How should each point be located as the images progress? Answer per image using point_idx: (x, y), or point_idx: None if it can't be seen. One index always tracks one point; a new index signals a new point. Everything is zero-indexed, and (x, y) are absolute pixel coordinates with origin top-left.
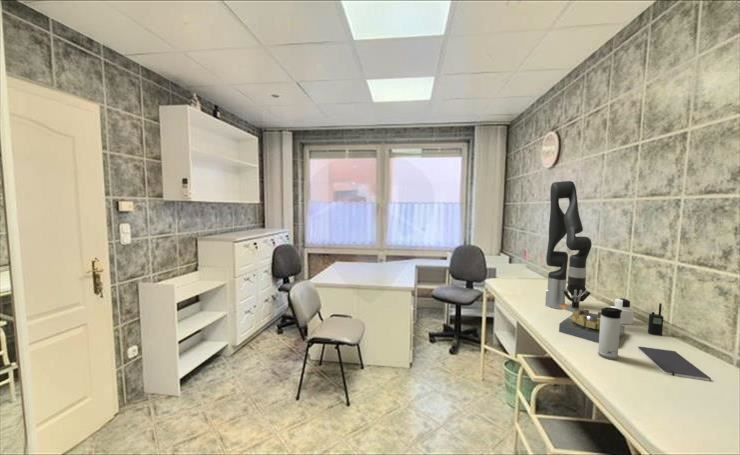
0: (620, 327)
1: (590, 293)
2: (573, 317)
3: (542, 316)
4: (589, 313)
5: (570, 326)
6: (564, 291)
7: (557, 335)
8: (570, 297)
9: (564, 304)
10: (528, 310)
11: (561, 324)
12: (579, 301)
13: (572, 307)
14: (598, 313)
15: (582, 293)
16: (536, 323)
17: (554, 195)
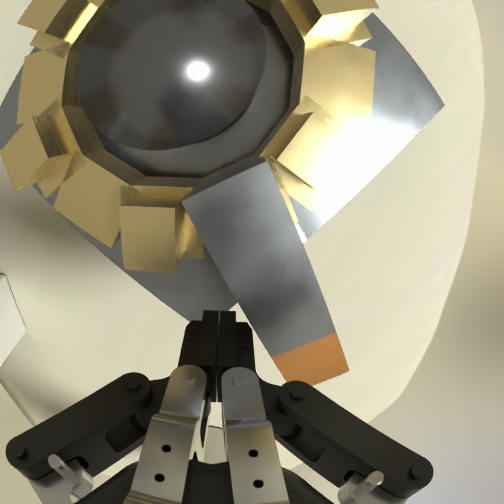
0: (18, 88)
1: (7, 444)
2: (367, 97)
3: (356, 341)
4: (154, 131)
5: (398, 44)
6: (430, 479)
7: (437, 63)
8: (318, 422)
9: (314, 370)
10: (365, 393)
11: (435, 93)
12: (175, 377)
13: (290, 292)
14: (56, 151)
15: (111, 482)
16: (451, 233)
17: None
